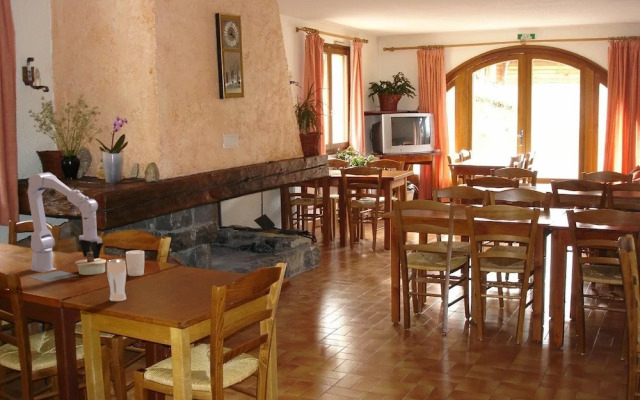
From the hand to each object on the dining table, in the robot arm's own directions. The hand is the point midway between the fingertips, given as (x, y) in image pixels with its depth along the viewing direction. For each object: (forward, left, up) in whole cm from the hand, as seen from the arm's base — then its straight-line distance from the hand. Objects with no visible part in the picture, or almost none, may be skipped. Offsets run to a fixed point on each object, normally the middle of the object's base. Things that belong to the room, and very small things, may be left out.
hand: (91, 257), depth 316 cm
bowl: (0, 0, -7) cm, 7 cm away
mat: (-6, -15, -7) cm, 18 cm away
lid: (0, 0, -2) cm, 3 cm away
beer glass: (+47, -20, -7) cm, 52 cm away
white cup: (+18, +10, -7) cm, 22 cm away
